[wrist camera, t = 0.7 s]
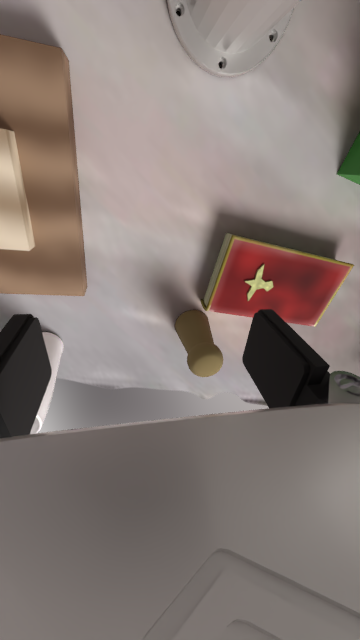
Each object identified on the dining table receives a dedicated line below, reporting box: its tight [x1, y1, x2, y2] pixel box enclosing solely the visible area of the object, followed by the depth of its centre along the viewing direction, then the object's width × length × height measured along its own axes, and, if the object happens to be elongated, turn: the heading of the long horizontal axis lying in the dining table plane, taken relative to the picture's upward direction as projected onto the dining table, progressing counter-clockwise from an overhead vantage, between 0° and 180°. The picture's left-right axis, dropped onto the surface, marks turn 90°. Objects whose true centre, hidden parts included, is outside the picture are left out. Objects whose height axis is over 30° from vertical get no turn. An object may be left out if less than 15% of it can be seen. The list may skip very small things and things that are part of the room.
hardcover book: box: [201, 233, 354, 326], centre depth 39 cm, size 12×21×4 cm, turn 75°
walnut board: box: [0, 34, 87, 296], centre depth 27 cm, size 24×16×3 cm, turn 172°
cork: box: [175, 310, 223, 377], centre depth 38 cm, size 6×6×11 cm
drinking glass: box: [30, 332, 64, 434], centre depth 34 cm, size 7×7×15 cm
